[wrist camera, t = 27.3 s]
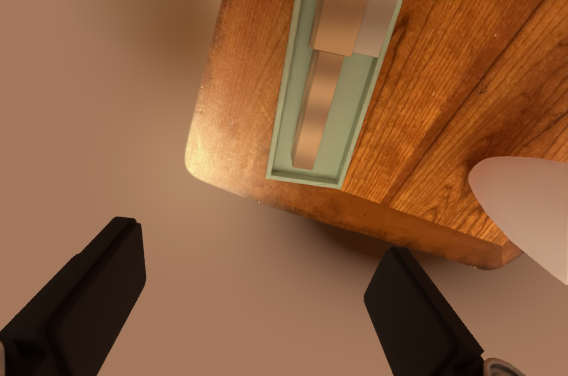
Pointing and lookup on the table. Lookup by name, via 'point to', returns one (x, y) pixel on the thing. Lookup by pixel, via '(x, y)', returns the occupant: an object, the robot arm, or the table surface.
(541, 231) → the cup
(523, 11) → the table surface
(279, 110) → the tray
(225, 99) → the table surface
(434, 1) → the table surface
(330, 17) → the brush
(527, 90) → the table surface
